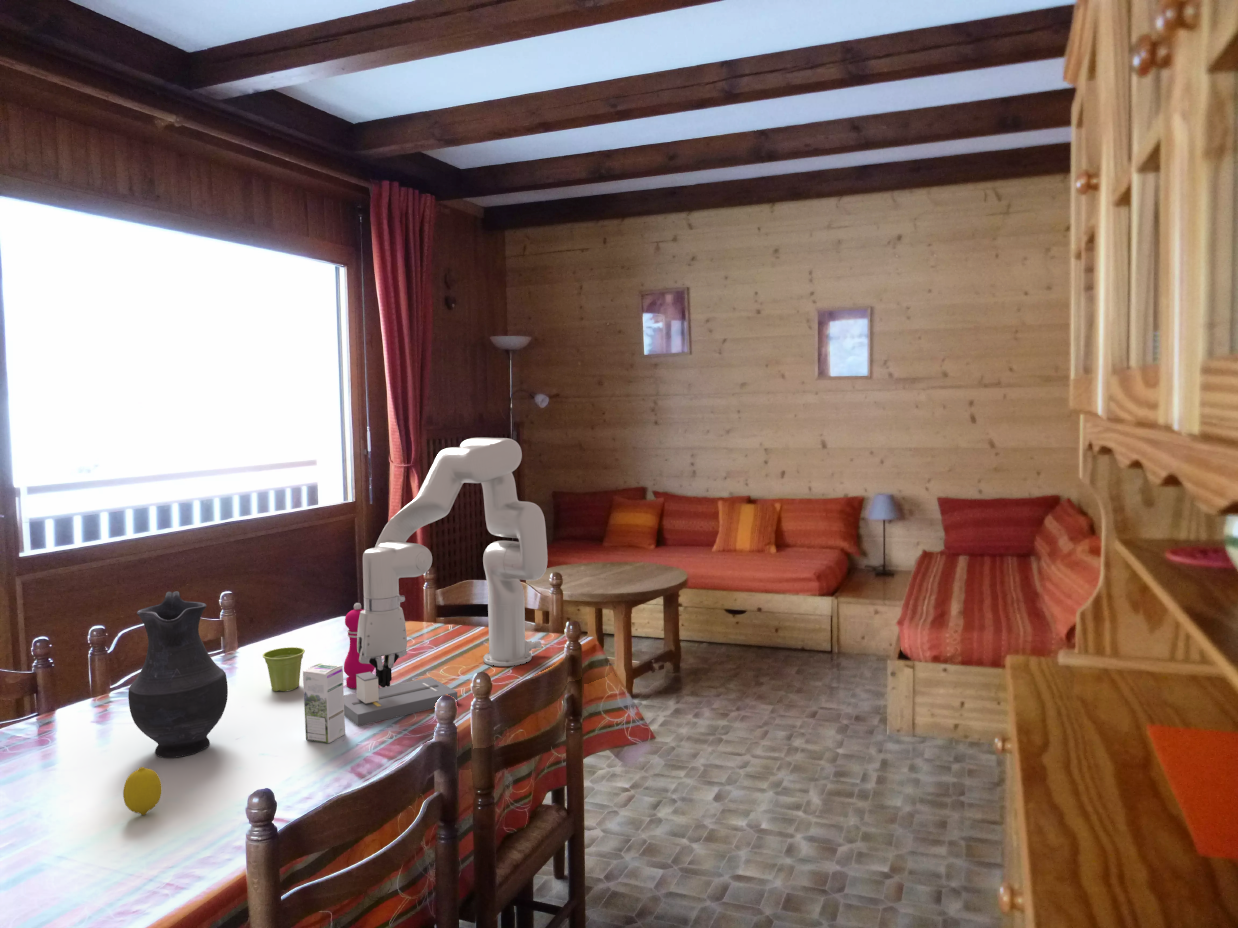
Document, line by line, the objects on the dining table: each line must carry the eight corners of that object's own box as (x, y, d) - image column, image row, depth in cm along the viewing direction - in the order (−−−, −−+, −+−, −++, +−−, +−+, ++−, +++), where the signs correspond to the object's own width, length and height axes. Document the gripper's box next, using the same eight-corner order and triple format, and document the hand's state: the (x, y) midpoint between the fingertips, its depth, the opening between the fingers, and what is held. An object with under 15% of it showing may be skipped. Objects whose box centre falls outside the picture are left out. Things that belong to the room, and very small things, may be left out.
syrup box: (346, 733, 178) (344, 664, 177) (328, 744, 172) (325, 672, 171) (323, 730, 180) (320, 661, 179) (304, 741, 174) (301, 670, 173)
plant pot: (272, 697, 202) (271, 660, 201) (258, 687, 209) (257, 652, 208) (312, 688, 208) (310, 652, 207) (297, 679, 215) (295, 644, 214)
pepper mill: (379, 680, 213) (377, 599, 212) (368, 689, 206) (366, 606, 205) (351, 679, 214) (349, 599, 213) (339, 688, 207) (336, 606, 206)
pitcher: (129, 773, 160) (121, 612, 158) (133, 736, 178) (126, 591, 176) (232, 754, 168) (226, 601, 166) (226, 721, 186) (220, 583, 184)
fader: (370, 694, 193) (369, 671, 193) (379, 700, 189) (378, 677, 189) (356, 697, 192) (355, 674, 191) (365, 703, 188) (364, 679, 187)
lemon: (134, 807, 146) (131, 761, 145) (168, 806, 146) (166, 759, 146) (118, 823, 140) (115, 775, 140) (153, 821, 141) (151, 773, 140)
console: (430, 687, 207) (430, 676, 207) (457, 702, 196) (457, 691, 196) (335, 708, 193) (334, 696, 193) (358, 725, 182) (357, 713, 182)
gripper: (406, 596, 199) (408, 674, 200) (342, 605, 190) (344, 687, 191) (420, 601, 193) (422, 682, 194) (354, 611, 184) (357, 696, 185)
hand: (383, 685), depth 193 cm, fingers closed
